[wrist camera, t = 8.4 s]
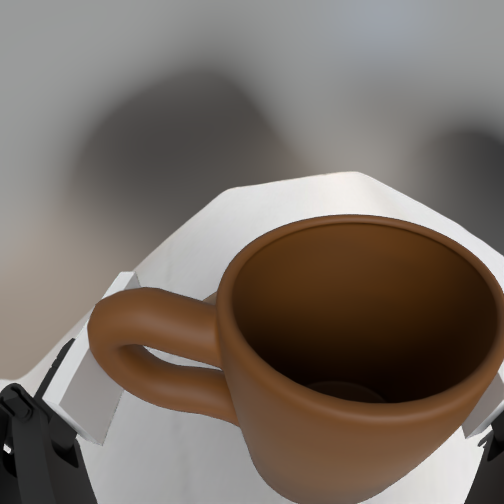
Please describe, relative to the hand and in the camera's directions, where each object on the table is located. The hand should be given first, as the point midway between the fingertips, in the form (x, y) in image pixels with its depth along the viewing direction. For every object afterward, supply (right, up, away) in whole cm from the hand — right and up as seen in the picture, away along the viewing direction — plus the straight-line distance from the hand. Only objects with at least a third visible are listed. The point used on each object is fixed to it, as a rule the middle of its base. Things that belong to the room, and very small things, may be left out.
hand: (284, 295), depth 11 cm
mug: (0, -7, 0) cm, 7 cm away
